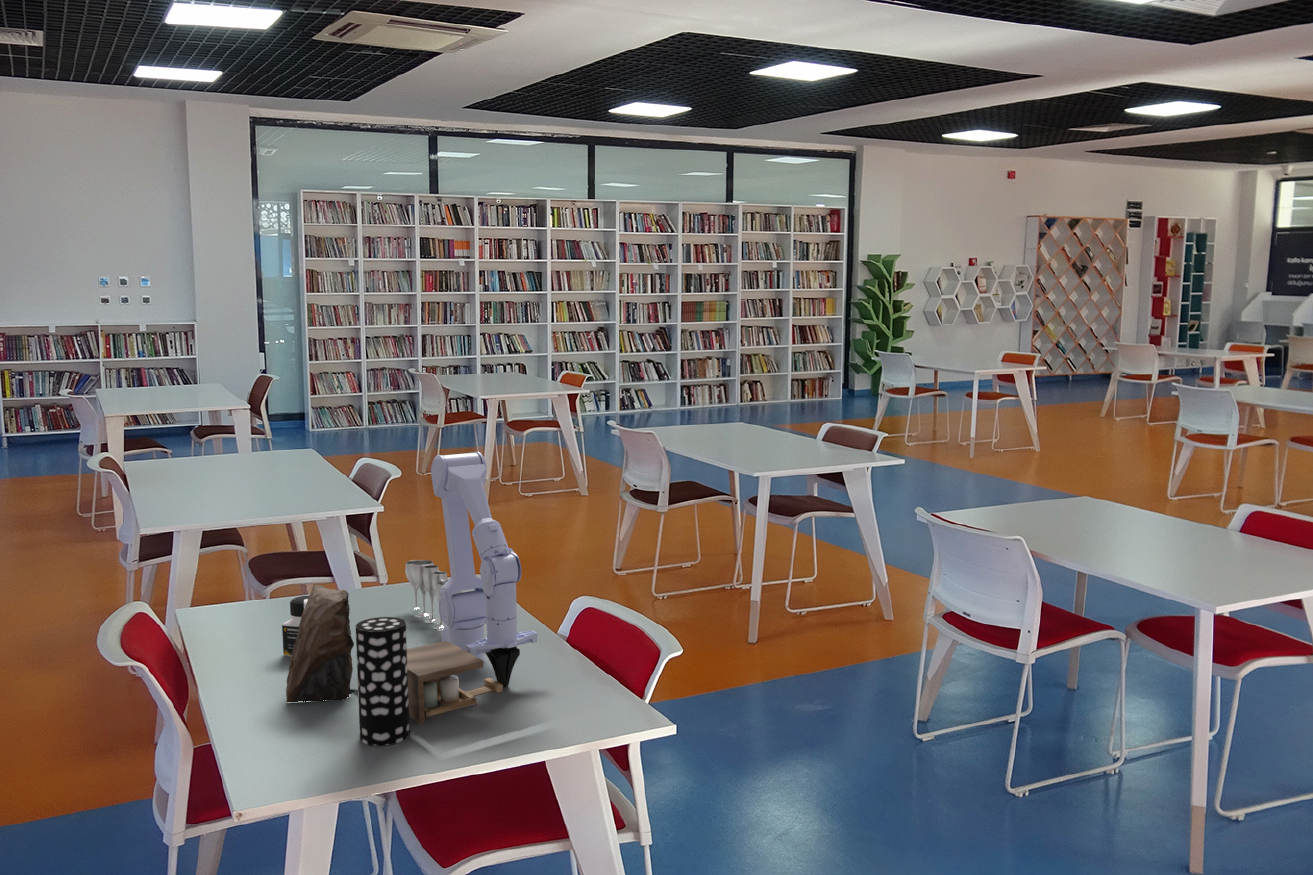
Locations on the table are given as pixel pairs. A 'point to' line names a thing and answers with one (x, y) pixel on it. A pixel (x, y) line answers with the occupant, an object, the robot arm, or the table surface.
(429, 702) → the grey-green round cylinder
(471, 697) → the oak tray
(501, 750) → the table surface
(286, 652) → the medicine bottle
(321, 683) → the brown rock
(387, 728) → the white-spotted black cylinder
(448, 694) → the off-white round cylinder
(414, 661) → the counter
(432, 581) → the goblet set
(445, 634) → the robot arm
